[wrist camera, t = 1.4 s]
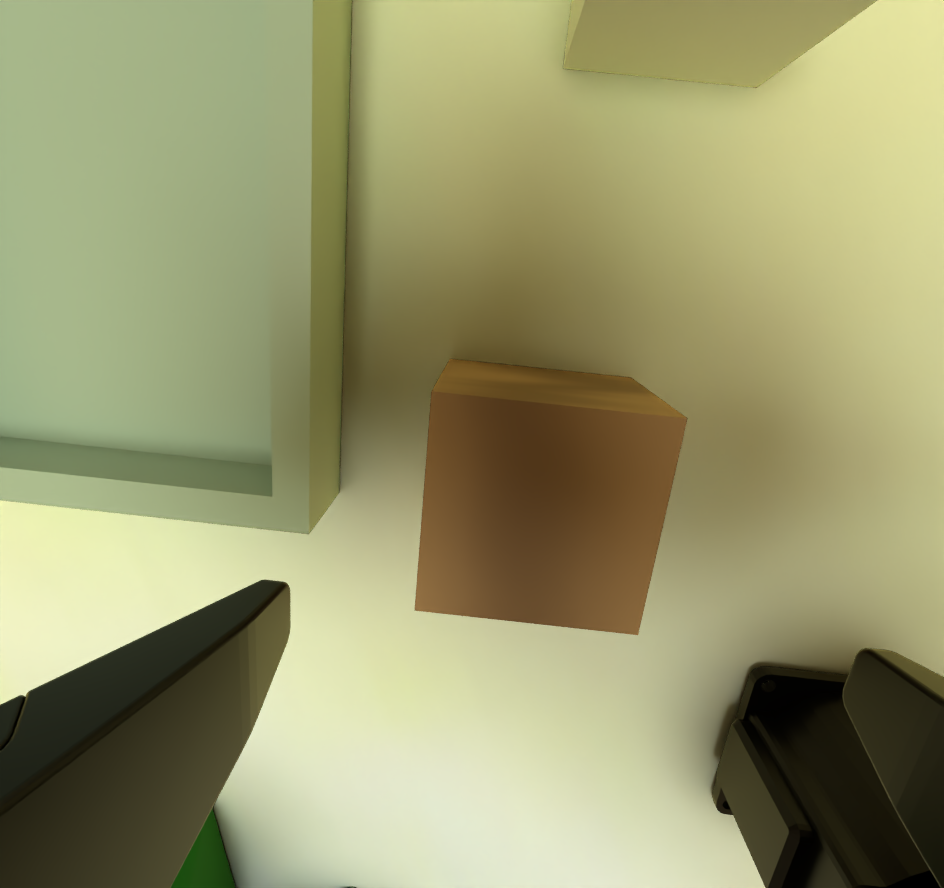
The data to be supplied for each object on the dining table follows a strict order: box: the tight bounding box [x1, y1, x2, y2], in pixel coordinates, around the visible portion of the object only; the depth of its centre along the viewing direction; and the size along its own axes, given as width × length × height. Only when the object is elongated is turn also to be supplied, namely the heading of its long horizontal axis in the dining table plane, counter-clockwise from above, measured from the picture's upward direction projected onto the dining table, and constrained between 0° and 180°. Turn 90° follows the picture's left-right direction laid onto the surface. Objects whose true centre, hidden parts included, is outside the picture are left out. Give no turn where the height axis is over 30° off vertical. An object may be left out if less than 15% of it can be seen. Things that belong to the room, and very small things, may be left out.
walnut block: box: [415, 359, 687, 635], centre depth 15 cm, size 6×6×5 cm
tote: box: [0, 0, 352, 534], centre depth 13 cm, size 12×18×3 cm, turn 174°
